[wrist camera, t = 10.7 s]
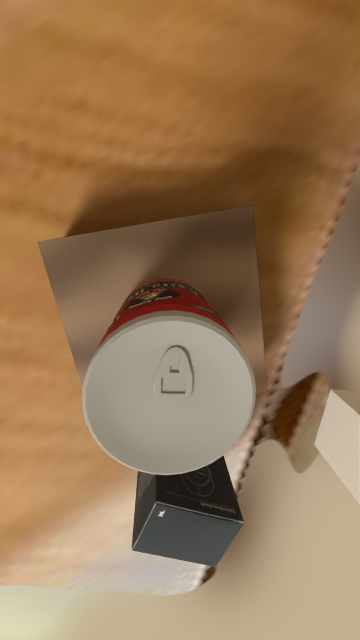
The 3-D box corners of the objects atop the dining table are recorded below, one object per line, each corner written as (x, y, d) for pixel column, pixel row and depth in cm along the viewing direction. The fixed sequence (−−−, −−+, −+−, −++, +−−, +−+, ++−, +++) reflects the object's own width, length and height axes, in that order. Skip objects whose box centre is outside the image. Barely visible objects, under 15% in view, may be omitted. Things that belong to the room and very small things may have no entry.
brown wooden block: (61, 241, 24) (37, 241, 19) (234, 211, 25) (253, 205, 20) (104, 393, 29) (94, 423, 24) (249, 366, 29) (267, 391, 25)
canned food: (201, 267, 21) (244, 295, 10) (218, 358, 23) (268, 456, 13) (105, 288, 21) (50, 339, 10) (132, 377, 23) (110, 493, 13)
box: (138, 452, 32) (129, 552, 21) (156, 413, 30) (155, 501, 20) (199, 469, 33) (216, 571, 23) (218, 433, 32) (246, 524, 22)
